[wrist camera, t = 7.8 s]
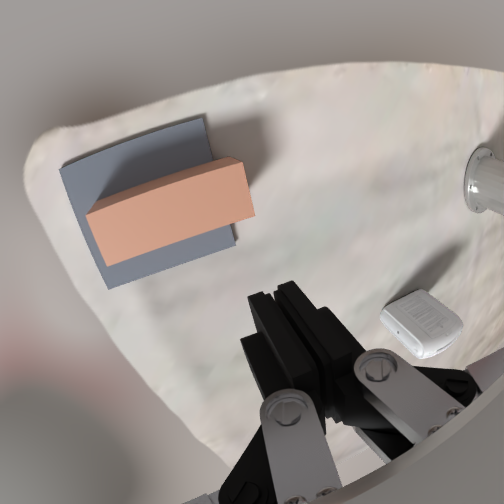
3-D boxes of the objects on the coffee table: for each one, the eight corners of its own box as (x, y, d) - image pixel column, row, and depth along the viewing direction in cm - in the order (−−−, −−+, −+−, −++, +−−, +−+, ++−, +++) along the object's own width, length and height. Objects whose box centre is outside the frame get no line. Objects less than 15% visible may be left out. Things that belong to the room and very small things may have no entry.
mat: (201, 117, 28) (202, 117, 27) (234, 243, 34) (235, 245, 33) (60, 168, 25) (58, 169, 24) (109, 286, 31) (108, 289, 31)
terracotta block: (242, 161, 25) (85, 215, 22) (255, 215, 27) (107, 266, 25) (229, 156, 29) (95, 201, 27) (240, 202, 32) (113, 245, 29)
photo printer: (377, 326, 48) (423, 370, 37) (379, 306, 46) (428, 350, 35) (419, 303, 50) (465, 339, 39) (422, 284, 48) (471, 320, 37)
